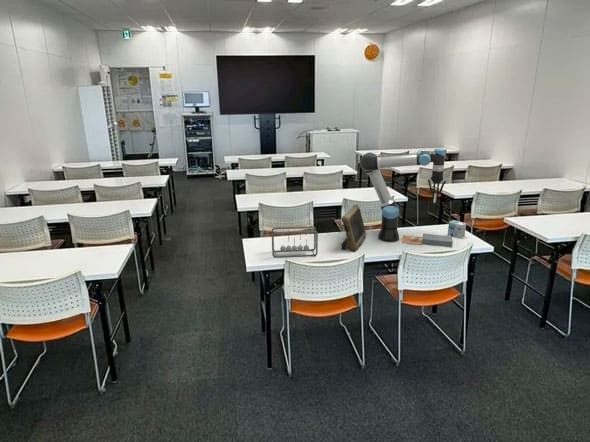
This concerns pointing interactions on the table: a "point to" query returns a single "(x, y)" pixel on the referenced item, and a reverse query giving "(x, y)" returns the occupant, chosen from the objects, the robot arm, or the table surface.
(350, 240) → the tablet
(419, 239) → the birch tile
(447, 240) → the deck
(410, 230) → the table surface
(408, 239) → the mat
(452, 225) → the light bulb box
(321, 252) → the table surface
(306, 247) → the newton's cradle
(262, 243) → the table surface
